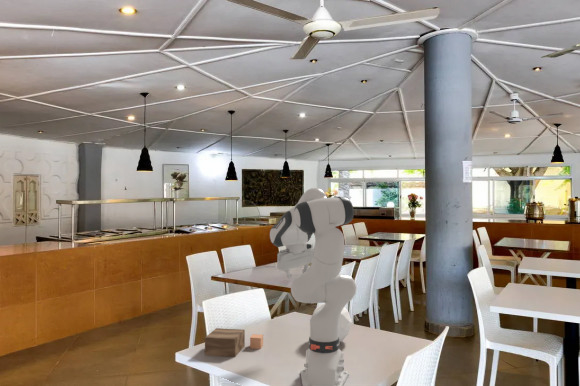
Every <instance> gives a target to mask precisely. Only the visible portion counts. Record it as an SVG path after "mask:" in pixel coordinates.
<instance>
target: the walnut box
mask: <svg viewBox="0 0 580 386" xmlns="http://www.w3.org/2000/svg"><path fill="white" fill-rule="evenodd" d="M245 333H246V332H245V329H241V328H240V329H238V328H237V329H236V328H222V327H221V328H220V327H215V329H214V330H212V331H211V332H209V334H207V335H206V336H205V337H204V356H211V357H212V356H213V357H214V356H215V357H226V358H228V357H229V358H235V357H237V355H239V353H240V352H241V351H242V350H243V349H244V348H245V346H246V343H245V340H246V339H245V335H246V334H245Z"/></svg>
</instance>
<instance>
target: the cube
mask: <svg viewBox="0 0 580 386" xmlns="http://www.w3.org/2000/svg"><path fill="white" fill-rule="evenodd" d="M249 344H250V345H249V348H250V349H254V350H255V349H256V350H257V349H258V350H261V349H262V348H263V346H264V334H257V333H256V334H252V335H251V336H250V337H249Z"/></svg>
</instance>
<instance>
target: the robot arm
mask: <svg viewBox="0 0 580 386" xmlns="http://www.w3.org/2000/svg"><path fill="white" fill-rule="evenodd" d="M354 212H355V211H354V206H353V203H352V202H351V200H350V199H348V198H347V197H345V196H336V195H334V196H332V197H327V194H326V193H325V192H324V191H323V190H322V189H321V188H318V187H310V188H309V189H307V190H306V191H305V192H304V193H303V194H302V195H301V196H300V198H299V200H298V201H297V203H296V204H295V205H294V206H293V207H292V208H290V209H289V210H287V211H286V212H285V213H283V215H282V216H281V217H280V219H279V220H278V221H277V223H276V224H274V225H273V226H272V227H271V228H270V231H269V239H270V242H271V243H272V245H273V246H275V247H277V248H280V247H285V249H283V250H282V249H281V250H279V251H278V253H277V254H276V255H277V258H276V259H277V260H276V261H277V263H276V265H277V269H278V270H279V271H282V272H283V271H284V272H285V274H286V278H287V279H292V273H290V270H291V269H294V268H300V267H302V266H304V267H303V269H302V270H301V271H302V273H301V274H300V275H298V276H295V278H293V280H292V281H291V284H290V285H291V286H290V293H291V296H292V297H293V299H294V300H295V301H296V302H299V303H303V304H322V303H325V305H324V307H323V308H322V309H321V310H319V311H317V312H316V313H314V312H313V313H314V314H313V313H312V315H311V316H310V319H309V338H308V348H307V349H306V350H305V363H304V368H302V369H300V378H301V386H344V384H345V382H346V381H347V379H348V378H349V375H350V374H349V372H348V371H347V370H345V365H344V362H345V361H344V360H345V359H344V352H343V351H342V350H341V349H340V343H341V342H340V341H339V337H338V324H339V317H340V314H341V311H342V310H343V308H344V307H345V308H346V306H347V304H348V303H349V302H351V301H352V300H353V299H354V297H355V295H356V294H357V284H356V281H355V280H354V278H353V277H352V276H351V275H347V274H342V273H341V270H342V269H343V267H342V266H343V262H344V254H345V236H344V234H343V232H342V231H341V229H339V228H337V227H339V226H345V225H348V224H349V223H351V222H352V221H353V219H354ZM313 235H314V238H315V239H314V240H315V242H314V245H313V243H310V242H309V241H310V240H311V238H312V237H313ZM309 264H310V265H309Z"/></svg>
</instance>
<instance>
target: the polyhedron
mask: <svg viewBox="0 0 580 386" xmlns="http://www.w3.org/2000/svg"><path fill="white" fill-rule="evenodd" d="M324 305H325V303H319V305H318V306H317V307H316V308H314V310H313V313H312V315H313V314H314V313H316V312H317V311H319V310H321V309H322V308H323V307H324ZM352 324H353V321H352V319H351V315H350V313H349V311H348V309H347V308H346V306H345V307H344V308H343V310H342V311H341V314H340V317H339V324H338V337H339V341H340V343H341V342H343V341H345V339H346V337H347V336H348V335H349V333H350V330H351V327H352Z"/></svg>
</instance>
